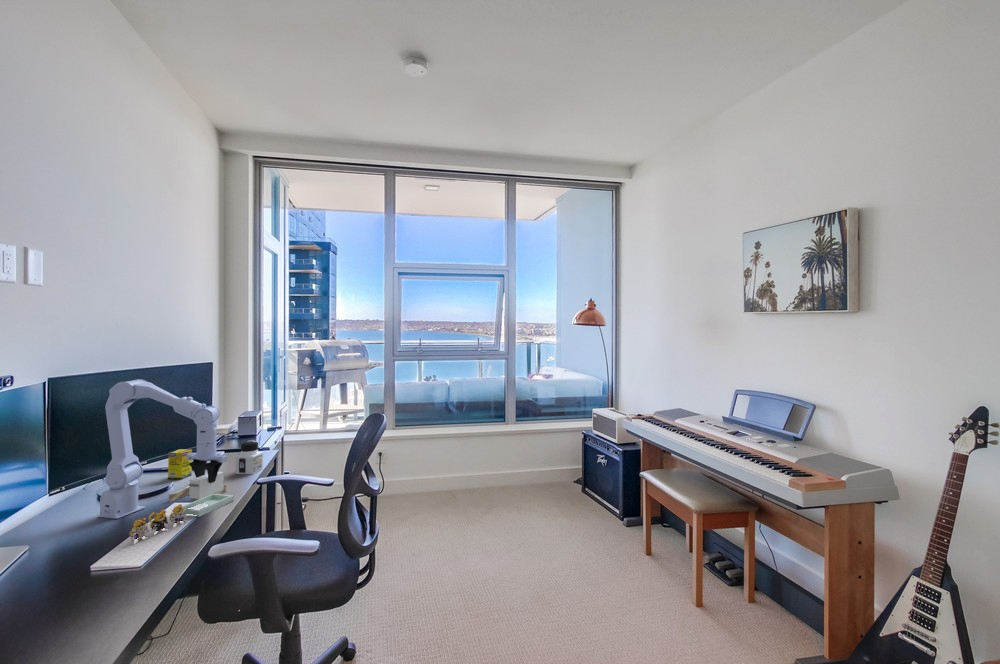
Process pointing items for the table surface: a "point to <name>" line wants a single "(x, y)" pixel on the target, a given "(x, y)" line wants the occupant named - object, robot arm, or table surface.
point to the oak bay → (186, 492)
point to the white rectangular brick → (205, 486)
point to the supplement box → (179, 464)
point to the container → (249, 458)
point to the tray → (212, 501)
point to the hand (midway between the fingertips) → (206, 481)
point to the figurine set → (157, 521)
